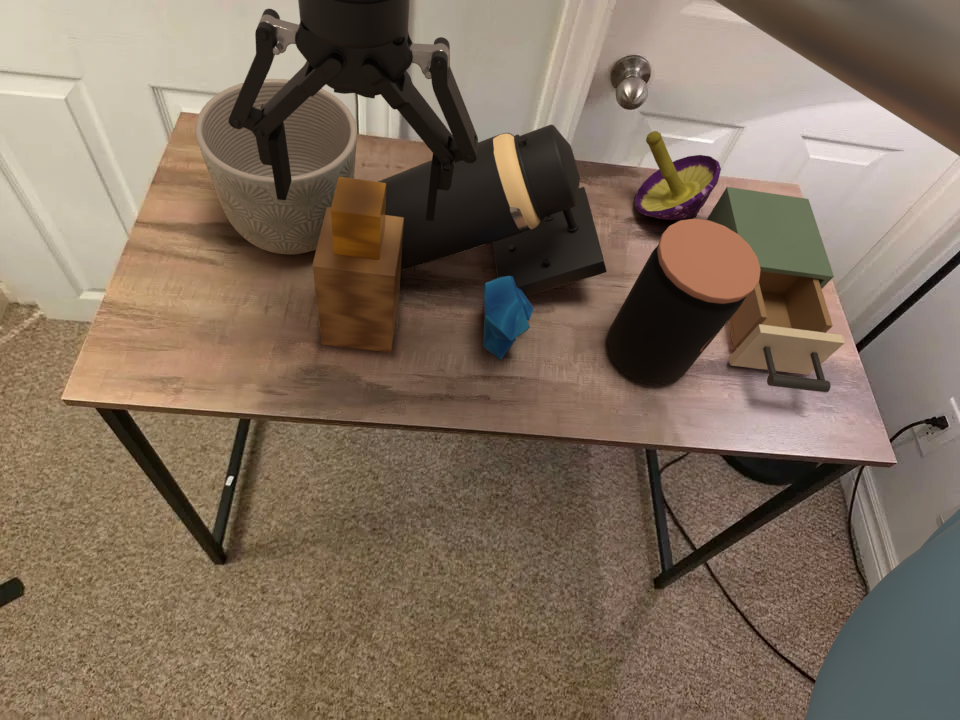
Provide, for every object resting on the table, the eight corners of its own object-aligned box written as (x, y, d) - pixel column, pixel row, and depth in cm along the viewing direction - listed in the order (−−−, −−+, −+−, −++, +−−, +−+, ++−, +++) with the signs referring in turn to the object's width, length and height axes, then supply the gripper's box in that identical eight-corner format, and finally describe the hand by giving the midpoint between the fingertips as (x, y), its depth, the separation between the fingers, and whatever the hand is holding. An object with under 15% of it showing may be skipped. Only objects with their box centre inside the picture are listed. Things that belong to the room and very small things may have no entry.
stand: (399, 298, 78) (404, 217, 66) (391, 352, 74) (395, 276, 62) (333, 290, 77) (326, 206, 66) (321, 344, 73) (312, 265, 61)
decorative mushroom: (696, 137, 77) (736, 230, 85) (698, 89, 85) (734, 178, 93) (603, 176, 84) (648, 258, 92) (612, 128, 92) (653, 208, 100)
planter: (237, 171, 85) (214, 68, 73) (365, 186, 87) (364, 88, 75) (208, 268, 76) (176, 170, 64) (351, 282, 78) (347, 189, 66)
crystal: (542, 266, 76) (561, 333, 68) (512, 318, 82) (525, 386, 73) (486, 249, 74) (498, 316, 65) (458, 304, 79) (466, 373, 71)
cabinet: (793, 319, 86) (834, 276, 78) (711, 308, 85) (745, 264, 77) (772, 244, 93) (808, 198, 85) (697, 233, 92) (726, 186, 84)
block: (385, 227, 65) (386, 182, 60) (379, 260, 63) (380, 217, 58) (341, 221, 65) (338, 176, 60) (333, 254, 62) (330, 210, 57)
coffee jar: (687, 398, 76) (765, 309, 61) (601, 378, 76) (658, 284, 61) (686, 327, 82) (757, 231, 67) (607, 309, 82) (660, 208, 67)
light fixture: (347, 165, 76) (553, 85, 69) (411, 257, 90) (588, 198, 83) (342, 243, 69) (573, 163, 62) (413, 330, 83) (607, 272, 76)
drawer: (818, 411, 77) (857, 381, 71) (737, 402, 76) (769, 371, 70) (787, 296, 87) (819, 261, 80) (715, 287, 86) (741, 250, 79)
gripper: (539, -34, 45) (491, 191, 63) (173, -100, 42) (232, 153, 60) (540, 26, 41) (488, 248, 59) (135, -43, 38) (210, 210, 56)
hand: (358, 200), depth 59 cm, fingers open, 13 cm apart
